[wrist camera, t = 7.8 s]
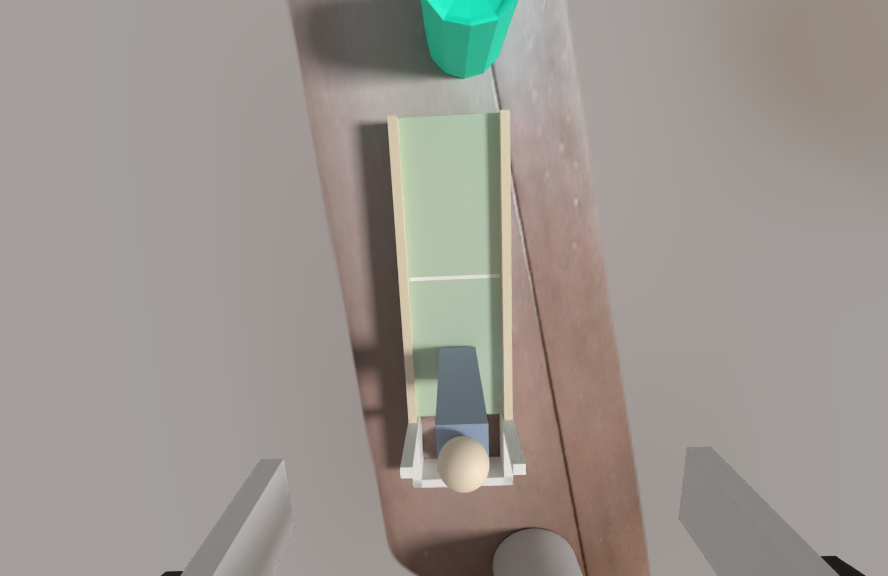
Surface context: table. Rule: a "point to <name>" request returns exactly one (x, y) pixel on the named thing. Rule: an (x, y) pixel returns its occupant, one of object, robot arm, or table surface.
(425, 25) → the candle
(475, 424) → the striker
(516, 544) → the mug
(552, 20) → the table surface
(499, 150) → the pitch
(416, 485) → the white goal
